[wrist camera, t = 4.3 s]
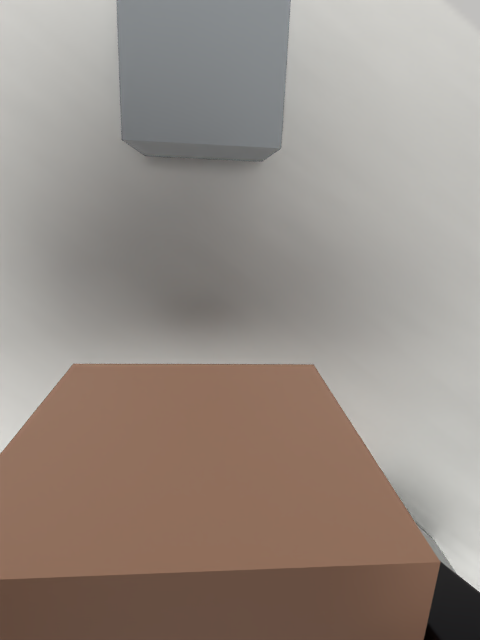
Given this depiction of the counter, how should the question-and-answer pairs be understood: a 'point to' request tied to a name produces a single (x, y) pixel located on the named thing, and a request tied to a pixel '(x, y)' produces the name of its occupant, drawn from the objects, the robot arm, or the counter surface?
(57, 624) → the terracotta cube
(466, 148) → the counter surface
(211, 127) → the slate cube
